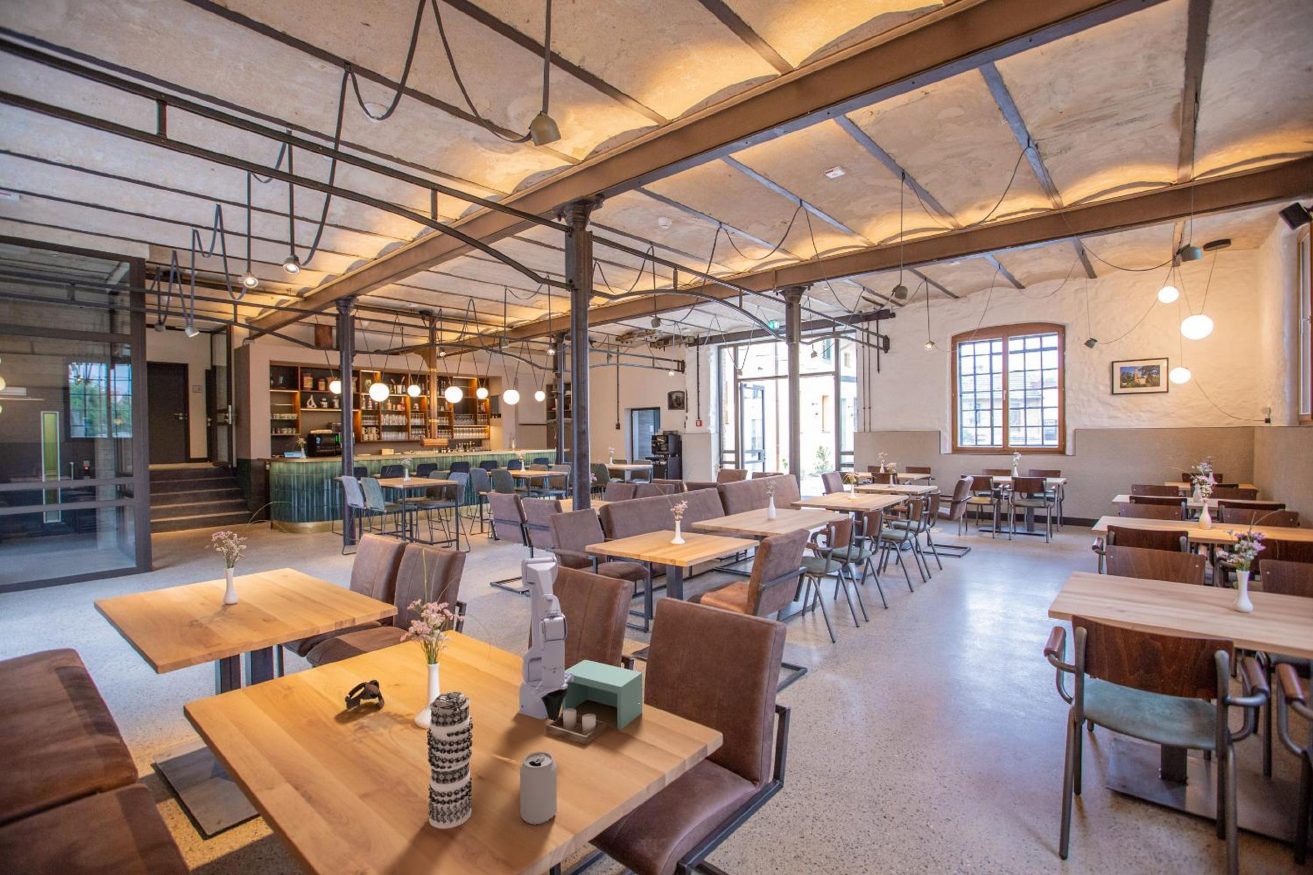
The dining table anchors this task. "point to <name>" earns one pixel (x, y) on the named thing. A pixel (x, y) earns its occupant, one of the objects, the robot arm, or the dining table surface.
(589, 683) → the box
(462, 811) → the decorative candle
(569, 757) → the dining table surface
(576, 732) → the tray
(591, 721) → the pale pink cylinder
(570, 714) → the cup
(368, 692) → the dark brown looped arch
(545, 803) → the can
